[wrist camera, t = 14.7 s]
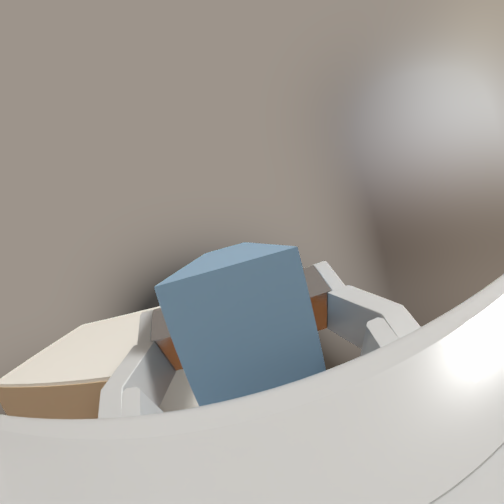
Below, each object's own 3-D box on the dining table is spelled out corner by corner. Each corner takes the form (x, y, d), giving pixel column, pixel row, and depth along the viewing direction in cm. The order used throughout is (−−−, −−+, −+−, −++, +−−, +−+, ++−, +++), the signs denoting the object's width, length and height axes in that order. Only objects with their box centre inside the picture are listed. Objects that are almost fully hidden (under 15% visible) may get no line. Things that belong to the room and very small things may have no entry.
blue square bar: (326, 373, 8) (297, 246, 7) (200, 409, 7) (153, 286, 7) (255, 281, 28) (244, 242, 27) (216, 292, 27) (205, 253, 27)
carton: (261, 562, 13) (127, 374, 11) (152, 564, 12) (-10, 384, 10) (246, 471, 29) (178, 301, 27) (166, 481, 28) (81, 324, 26)
